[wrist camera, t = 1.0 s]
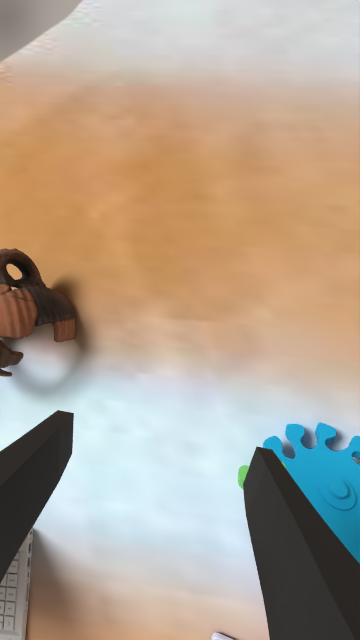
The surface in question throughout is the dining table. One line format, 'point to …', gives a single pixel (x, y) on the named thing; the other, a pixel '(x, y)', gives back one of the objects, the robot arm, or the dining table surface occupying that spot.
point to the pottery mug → (29, 306)
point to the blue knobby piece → (324, 480)
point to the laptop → (16, 593)
